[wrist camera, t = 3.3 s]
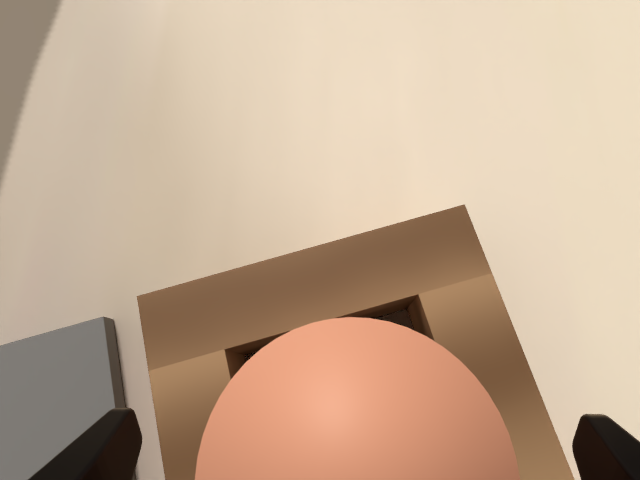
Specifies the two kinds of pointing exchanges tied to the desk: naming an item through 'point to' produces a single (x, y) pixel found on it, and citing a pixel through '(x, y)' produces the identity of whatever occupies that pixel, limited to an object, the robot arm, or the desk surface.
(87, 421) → the rubber mat
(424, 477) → the terracotta peg
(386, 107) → the desk surface
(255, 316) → the walnut pocket block
